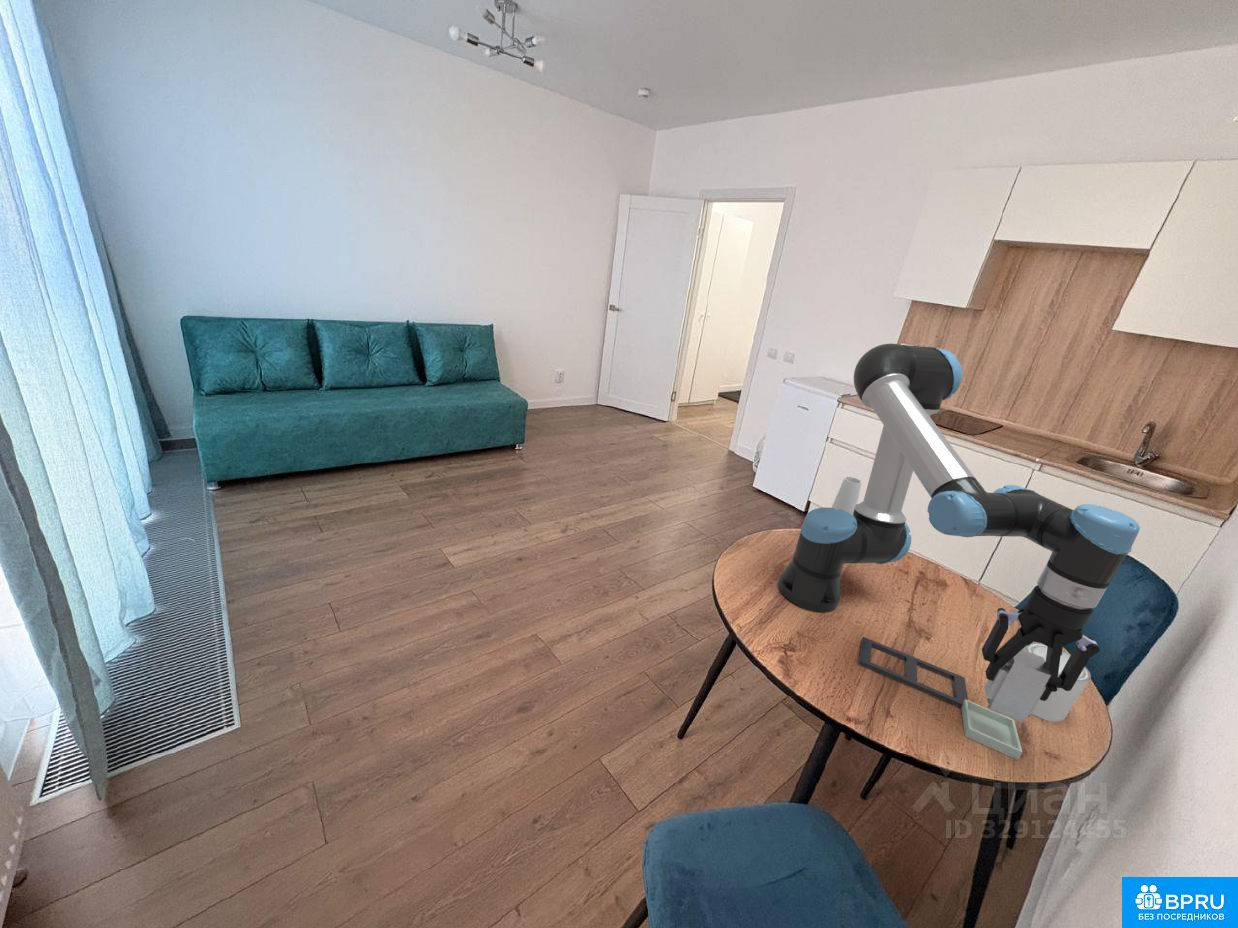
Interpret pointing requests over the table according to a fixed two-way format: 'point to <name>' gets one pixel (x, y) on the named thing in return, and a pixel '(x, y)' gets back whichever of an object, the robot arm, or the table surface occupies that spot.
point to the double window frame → (914, 672)
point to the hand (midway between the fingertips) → (1006, 700)
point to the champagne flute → (848, 495)
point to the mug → (1058, 689)
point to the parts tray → (991, 729)
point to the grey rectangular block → (1020, 685)
